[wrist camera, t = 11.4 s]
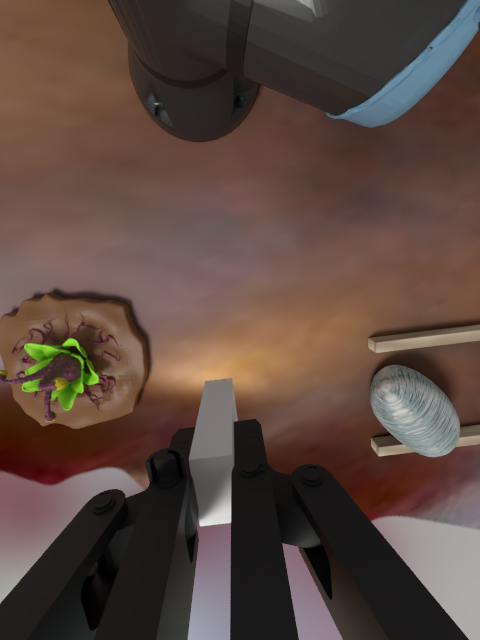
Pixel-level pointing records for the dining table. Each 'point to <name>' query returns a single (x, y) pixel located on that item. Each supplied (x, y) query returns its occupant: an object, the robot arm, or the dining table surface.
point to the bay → (418, 340)
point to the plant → (73, 359)
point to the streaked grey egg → (414, 411)
